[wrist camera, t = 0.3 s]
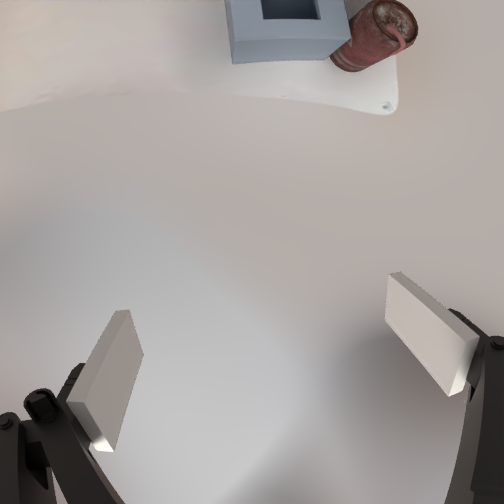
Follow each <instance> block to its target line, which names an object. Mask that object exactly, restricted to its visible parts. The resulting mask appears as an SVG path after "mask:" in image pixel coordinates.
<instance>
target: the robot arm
mask: <svg viewBox="0 0 504 504" xmlns="http://www.w3.org/2000/svg"><path fill="white" fill-rule="evenodd" d="M385 321H386V322H387V323H388V324H389V325H390V326H391V328H392V329H393V330H394V331H395V332H396V334H397V335H398V336H399V337H400V338H401V339H402V341H403V342H404V343H405V344H406V345H407V347H408V348H409V349H410V350H411V351H412V353H413V354H414V355H415V356H416V357H417V359H418V360H419V361H420V362H421V363H422V365H423V366H424V367H425V368H426V369H427V371H428V372H429V373H430V374H431V376H432V377H433V378H434V379H435V381H436V382H437V383H438V384H439V385H440V387H441V388H442V389H443V391H444V392H445V393H446V394H447V396H451V395H453V394H456V393H458V392H460V391H462V389H463V387H464V384H465V381H466V380H467V381H468V382H469V383H470V384H471V386H470V388H469V391H468V394H467V396H466V398H465V401H464V403H463V404H466V402H467V406H466V413H465V420H464V425H463V431H462V437H461V442H460V446H459V451H458V456H457V460H456V464H455V468H454V472H453V476H452V480H451V484H450V487H449V490H448V494H447V497H446V500H445V503H444V504H504V337H501V336H491V337H489V336H487V335H486V334H485V333H484V332H483V331H482V330H480V329H479V328H478V327H477V326H476V325H474V324H472V322H471V321H470V320H468V319H466V317H464V315H462V314H461V313H460V312H458V311H455V310H453V309H447V308H445V307H444V306H443V305H442V304H441V303H439V302H438V301H437V300H436V299H434V298H433V297H432V296H431V295H430V294H428V293H427V292H426V291H425V290H423V289H422V288H421V287H419V286H418V285H417V284H416V283H414V282H413V281H412V280H410V279H409V278H408V277H407V276H405V275H404V274H403V273H401V272H397V273H392V274H388V289H387V301H386V313H385ZM143 355H144V354H143V351H142V348H141V345H140V342H139V339H138V336H137V333H136V330H135V327H134V323H133V320H132V317H131V313H130V310H121V311H115V313H114V315H113V316H112V318H111V320H110V321H109V323H108V325H107V327H106V328H105V330H104V332H103V333H102V335H101V337H100V339H99V340H98V342H97V344H96V346H95V347H94V349H93V351H92V353H91V355H90V356H89V358H88V360H87V362H86V363H79V364H78V365H77V366H76V367H75V368H74V369H73V370H72V371H71V373H70V375H69V376H68V379H67V380H66V382H65V384H64V386H63V387H62V389H61V391H60V393H59V394H58V396H57V398H55V396H54V394H53V393H52V391H51V390H49V389H46V388H45V389H44V388H43V389H38V390H35V391H33V392H32V393H30V394H29V395H28V396H27V397H26V398H25V400H24V408H25V409H26V411H27V412H28V414H29V415H30V417H31V418H32V420H25V421H21V420H20V419H19V417H18V416H17V415H16V414H15V413H13V412H6V413H4V414H2V415H0V504H57V501H56V496H55V490H54V484H53V477H52V471H53V473H54V475H55V478H56V480H57V482H58V484H59V486H60V488H61V491H62V492H63V494H64V497H65V499H66V501H67V503H68V504H125V503H124V502H123V500H122V499H121V498H120V496H119V495H118V494H117V492H116V491H115V489H114V488H113V486H112V485H111V483H110V482H109V480H108V479H107V477H106V476H105V474H104V473H103V471H102V470H101V468H100V466H99V465H98V463H97V462H96V460H95V459H94V457H93V455H92V453H91V452H90V451H89V449H88V448H89V445H90V442H92V444H93V445H94V447H95V448H96V450H98V451H109V452H110V451H111V452H114V451H115V447H116V443H117V440H118V436H119V433H120V429H121V425H122V422H123V419H124V416H125V412H126V408H127V406H128V402H129V399H130V396H131V393H132V389H133V386H134V383H135V380H136V377H137V374H138V371H139V368H140V365H141V362H142V358H143ZM51 468H52V469H51Z"/></svg>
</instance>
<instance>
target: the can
mask: <svg viewBox="0 0 504 504" xmlns="http://www.w3.org/2000/svg"><path fill="white" fill-rule="evenodd" d="M348 23H349V28H350V33H351V38H350V39H349V40H348V41H346V42H345V43H344V44H343V45H342V46H340V47H339V48H338V49H337V50H335V51H334V52H333V53H332V54H331V55H329V56H330V58H331V60H332V61H333V63H334V64H335V65H336V66H338V67H339V68H340V69H342V70H345V71H347V72H358V71H361V70H363V69H365V68H367V67H369V66H371V65H373V64H375V63H377V62H379V61H381V60H383V59H385V58H387V57H389V56H391V55H395V54H397V53H399V52H400V51H402V50H404V49H406V48H408V47H409V46H411V45H412V44H413V43H414V41H415V39H416V37H417V35H418V25H417V21H416V19H415V17H414V16H413V14H412V13H411V11H410V10H409V9H408V8H407V7H406V6H405V5H403V4H402V3H400V2H398V1H396V0H373V1H371V2H369V3H368V4H367V5H366V6H365V7H364V8H362V9H361V10H360V11H359V12H358V13H357V14H356V15H355V16H354V17H353V18H351V19H350V20H349V21H348Z"/></svg>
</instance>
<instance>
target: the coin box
mask: <svg viewBox="0 0 504 504" xmlns="http://www.w3.org/2000/svg"><path fill="white" fill-rule="evenodd" d="M225 7H226V15H227V23H228V32H229V40H230V48H231V57H232V64H240V63H252V62H267V61H290V60H325V59H326V58H327V57H328V56H329V55H331V54H332V53H333V52H334V51H335V50H337V49H338V48H339V47H340V46H342V45H343V44H344V43H345V42H346V41H348V40H349V39H350V38H351V33H350V28H349V23H348V19H347V14H346V9H345V5H344V1H343V0H225Z"/></svg>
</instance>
